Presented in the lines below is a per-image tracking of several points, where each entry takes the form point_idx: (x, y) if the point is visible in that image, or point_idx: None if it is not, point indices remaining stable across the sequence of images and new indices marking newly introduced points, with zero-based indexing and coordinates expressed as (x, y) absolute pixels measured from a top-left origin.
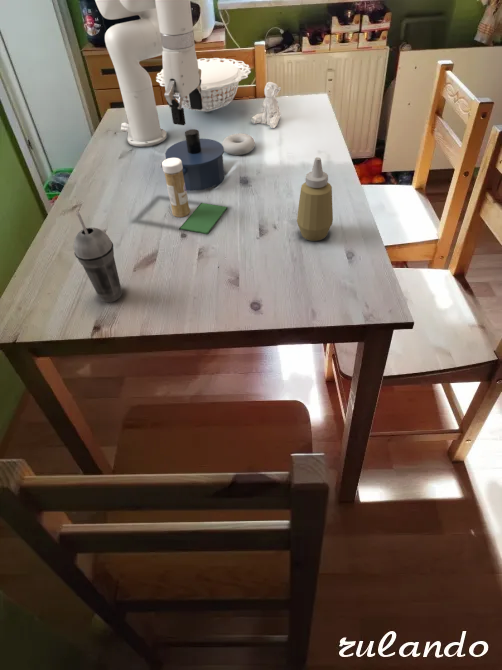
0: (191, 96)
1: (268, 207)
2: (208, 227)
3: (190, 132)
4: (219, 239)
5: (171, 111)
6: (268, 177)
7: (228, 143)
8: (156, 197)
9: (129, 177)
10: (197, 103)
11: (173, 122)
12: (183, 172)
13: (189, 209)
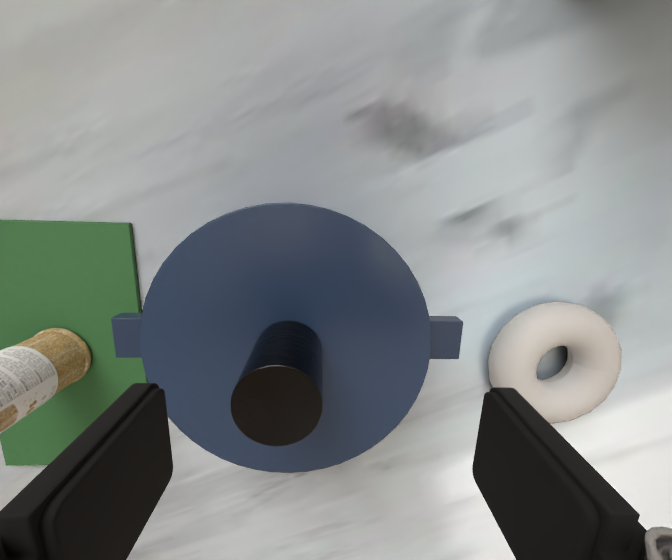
0: (554, 509)
1: (203, 549)
2: (30, 458)
3: (265, 404)
4: (5, 497)
5: (44, 469)
6: (363, 499)
7: (523, 353)
8: (129, 215)
9: (232, 7)
10: (501, 496)
11: (133, 387)
12: (132, 357)
13: (72, 382)
